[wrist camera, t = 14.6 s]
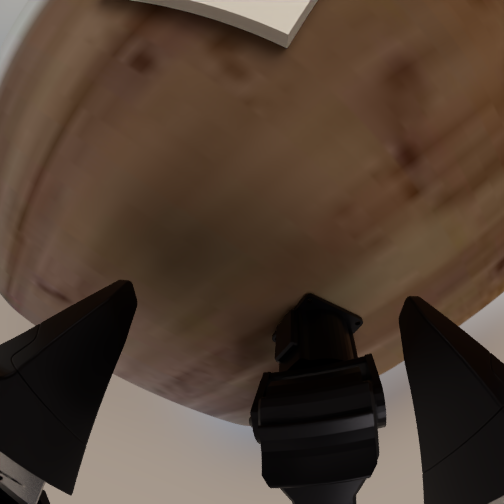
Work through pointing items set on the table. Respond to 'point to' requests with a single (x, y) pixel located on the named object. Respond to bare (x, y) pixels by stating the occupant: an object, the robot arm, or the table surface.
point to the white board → (250, 15)
